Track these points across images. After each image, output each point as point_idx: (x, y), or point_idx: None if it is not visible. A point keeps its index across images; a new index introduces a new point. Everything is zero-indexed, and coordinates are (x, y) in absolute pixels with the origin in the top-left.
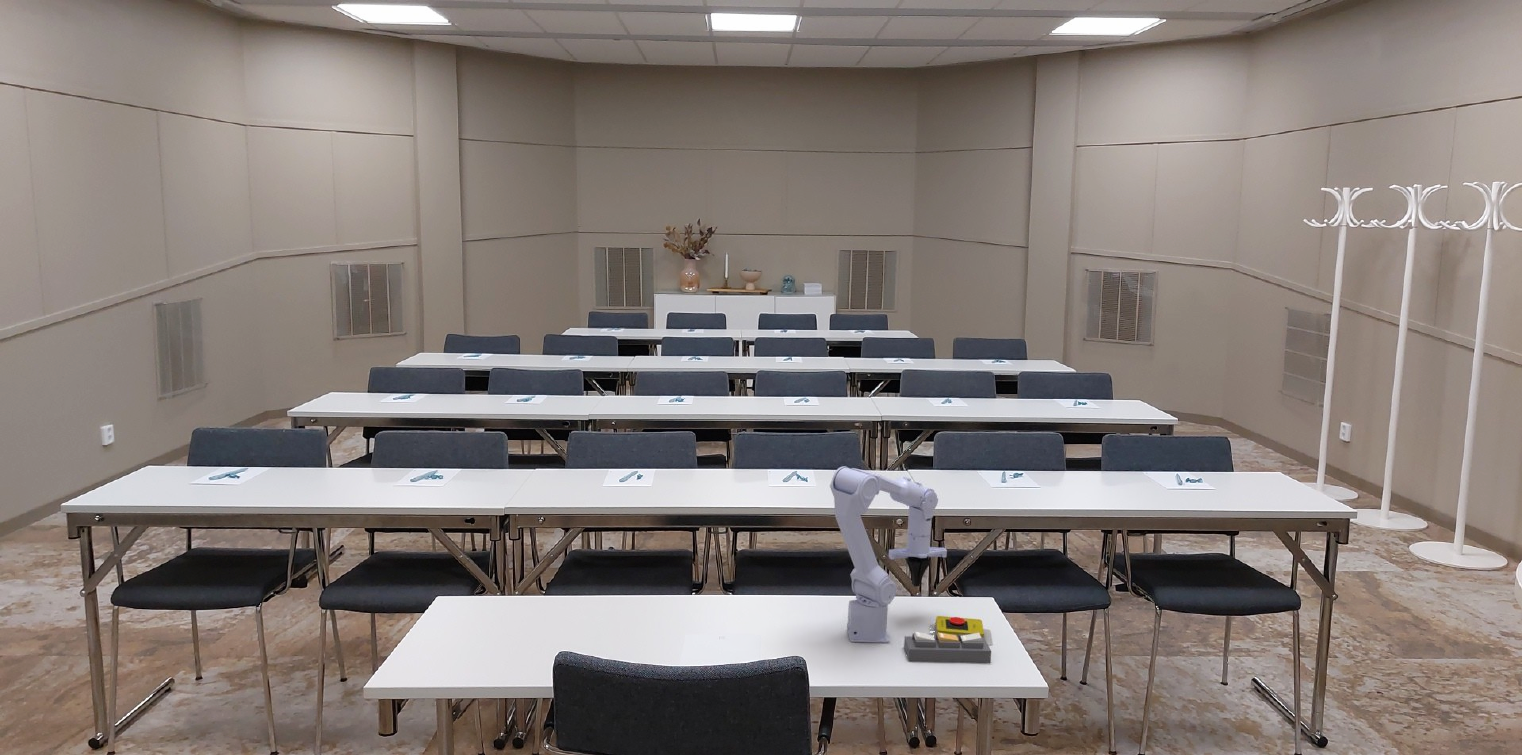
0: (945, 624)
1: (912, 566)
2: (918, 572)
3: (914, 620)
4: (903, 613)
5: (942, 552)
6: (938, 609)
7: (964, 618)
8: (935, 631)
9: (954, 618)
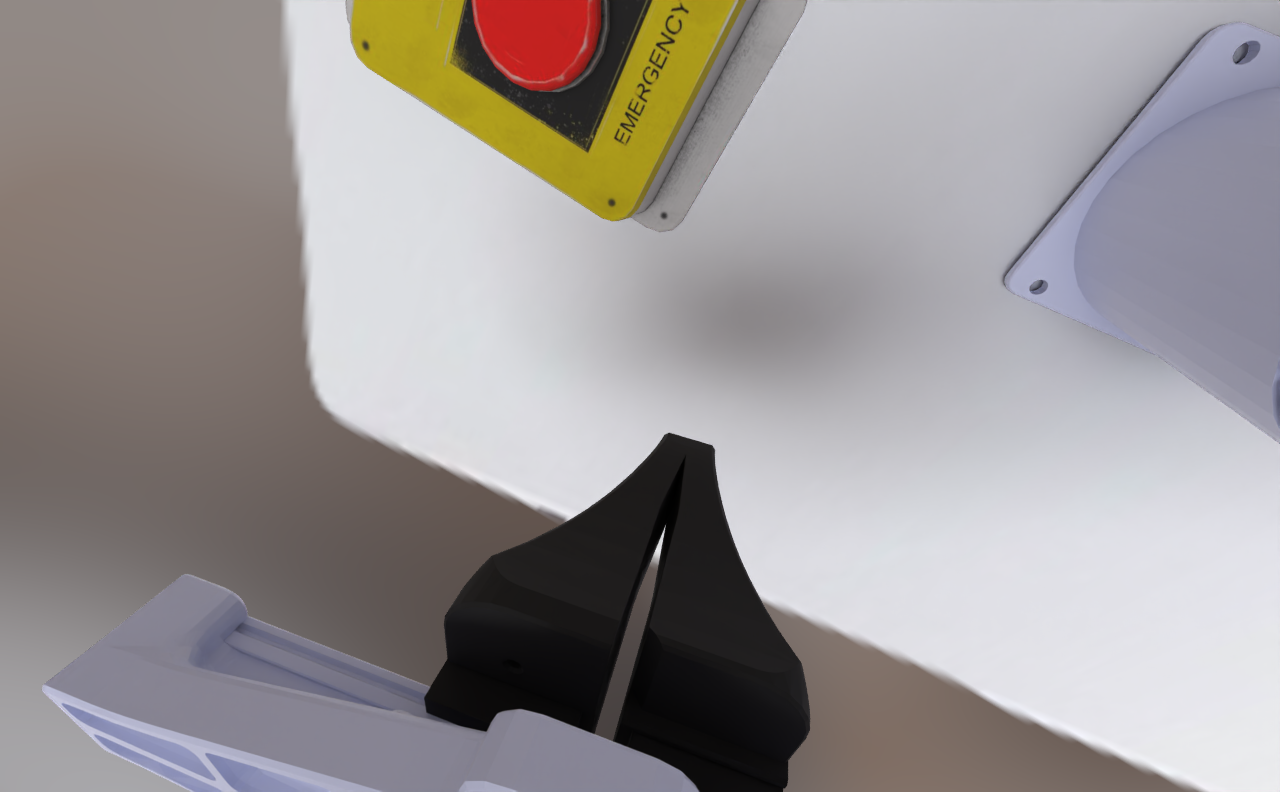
0: (633, 51)
1: (777, 636)
2: (649, 542)
3: (719, 327)
4: (723, 418)
5: (149, 677)
6: (531, 386)
7: (455, 117)
8: (702, 103)
9: (540, 52)
